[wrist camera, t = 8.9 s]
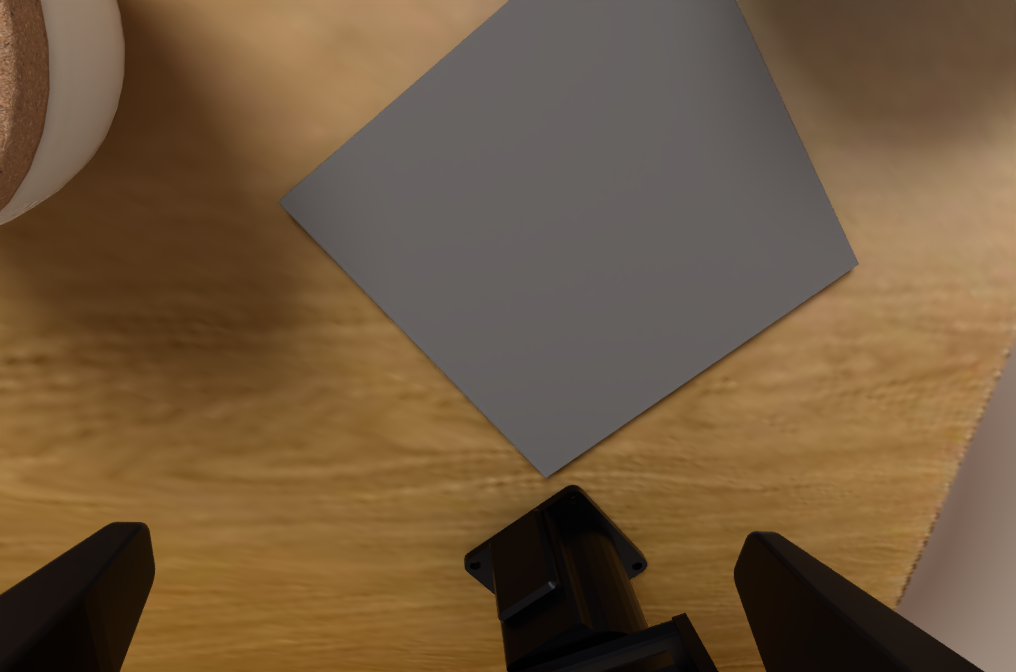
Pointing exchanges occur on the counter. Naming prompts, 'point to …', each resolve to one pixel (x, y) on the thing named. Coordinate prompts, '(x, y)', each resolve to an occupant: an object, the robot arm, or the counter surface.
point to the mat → (581, 211)
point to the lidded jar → (54, 93)
